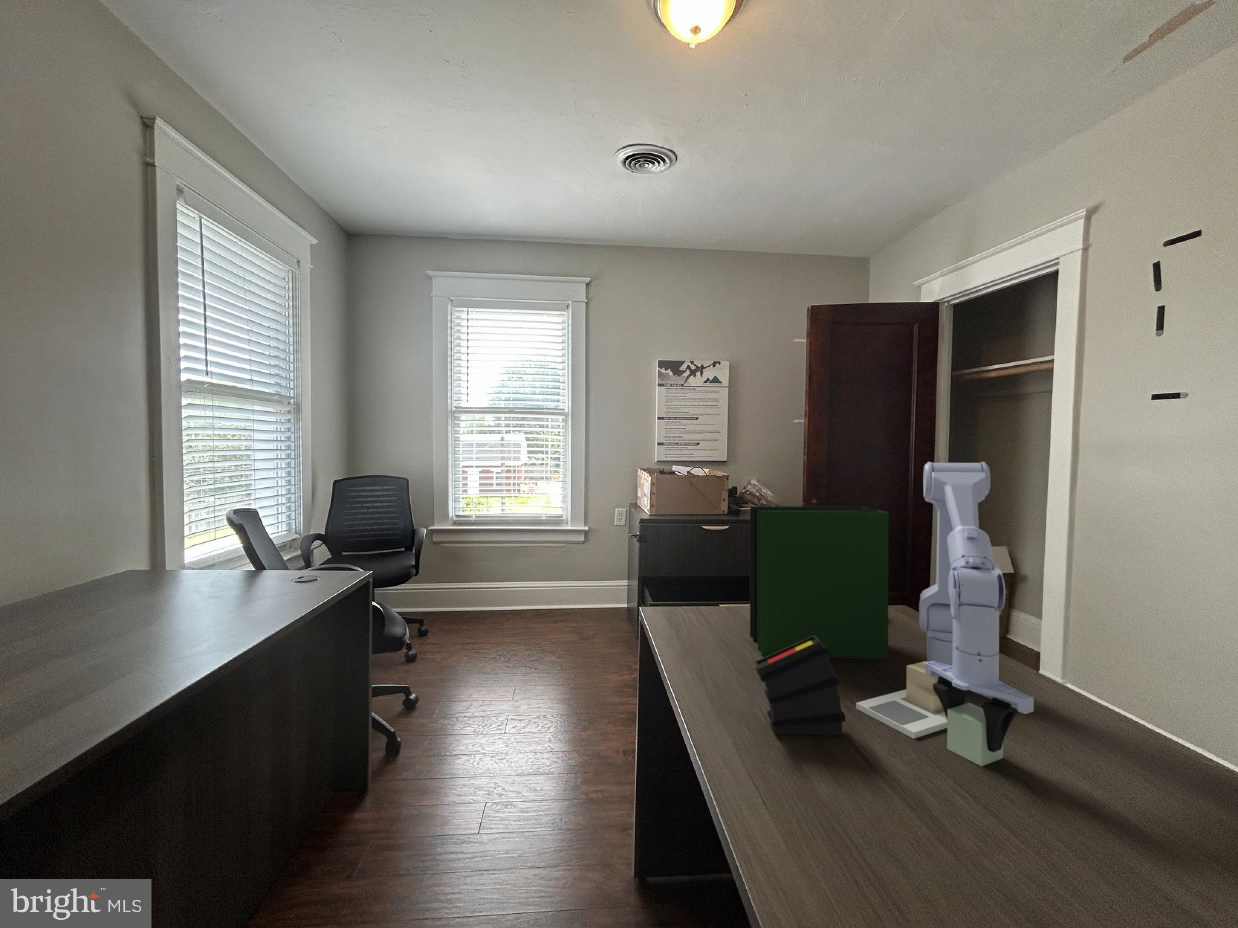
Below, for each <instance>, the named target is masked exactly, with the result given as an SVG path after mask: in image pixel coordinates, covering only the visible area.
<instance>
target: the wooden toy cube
mask: <svg viewBox="0 0 1238 928" xmlns="http://www.w3.org/2000/svg"><path fill="white" fill-rule="evenodd" d="M926 662H927V660H923V661H921V662H920V661H919V662H916V663H913V664H908V665H906V689H907V694H906V699H907V700H909V701H911V702H913V703H915V704H917V705H920V706H922V707H924V708H926V709H928V710H931V711H933V712H934V711H938V710H941V709H943V707H942V704H941V702H940V700H939V698H938V696H937V695H936V693H935V691H934V690H933V684H934V683H937V681H938V678H937V677H935V676H933V677H930V676H927V675H925V663H926Z"/></svg>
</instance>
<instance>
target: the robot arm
mask: <svg viewBox="0 0 1238 928" xmlns="http://www.w3.org/2000/svg"><path fill="white" fill-rule="evenodd" d="M922 476H923V477H922V478H923V479H922V480H923V498H924V501H925V502H927V503H931V504H933V505H934V507H935V508H936V509H935V510H936V512H937V519H936V521H937V522H936V523H937V524H936V525H937V526H936V527H937V528H936V529H937V530H936V531H937V532H936V579H935V580H936V582H935V584H933V585H931V586H929V587H928V588H925V589H924V590H922V591H921V593H920V594H919V604H918V622H919V623H918V625H919V628H920V630H922V632H923V633H926V663H925V675H927V676H930V677H933V676H935V677H937V678H938V681H937V683H934V684H933V690H934V691H935V693H936V695H937V696H938V698H939V700H940V702H941V704H942V707H943V709H944V712H945V715H946V718H947V709H950V708H953V707H957V706H960V705H963V704H966V697H967V692H968V691H971V692H973V693H975V694H978V695H981V696H983V697H985V698H989V699H990V700H991V701H987V702H984V703H981V708H982V709H983V712H984V715H985V720H986V726H987V747H988V750H989V751H991V752H996V751H998V750H1001V748H1002V744H1003V745H1004V741H1005V737H1006V734H1007V732H1008V731H1009V730H1008V729H1009V728H1010V726H1011V724H1012V722H1013V721H1014V719H1015V718H1016V717H1017V715H1018V714H1019V713H1021V714H1024V715H1027V714H1030V713H1032V712H1034V711H1035V710H1034V707H1035V706H1034V705H1035V704H1034V703H1035V702H1034V700H1035V698H1034V697H1032V696H1030V695H1028V694H1026V693H1024V692H1022V691H1019V690H1018V689H1016V688H1014V687H1012V686H1010V685H1008V684H1006V683H1005V682H1002V681H1001V680H999V678H1000V677H999V673H1000V669H999V665H1000V664H999V663H1000V661H999V660H1000V657H999V656H1000V610H1001V611H1002V610H1003V609H1004V607H1005V600H1006V585H1005V579H1004V575H1003V572H1002V571H1001V569H1000V566H999V564H998V563H995V561H994V556H993V550H992V545H991V544H992V543H991V540H990V537H989V535H988V533H987V532H985V531H984V530H983V529H980V525H979V521H980V520H979V505H978V504H979V503H981V502H982V501H984V500H985V498H986V496H987V495H988V494H989V492H990V490H991V471H990V467H989V465H988V464H987V463H986V462H985V461H980V462H931V461H927V463H925V464H924V466H923V475H922Z"/></svg>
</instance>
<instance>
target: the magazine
mask: <svg viewBox="0 0 1238 928" xmlns="http://www.w3.org/2000/svg"><path fill="white" fill-rule="evenodd" d="M826 653H828V650H827V648H826V647H825V646H824V645H823V644H822V643H821V642H820V640H819V639H818V638H817V637H816V636H815V635H813V636H810V637H808V638H806V639H804V640H802V641H799V642H797V643H795V644H793V645H791V646H788V647H786V648H784V649H782V650H780V651H777V652H775V653H773V654H771V655H768V656H764V657H762V658H760V659H758V660H756V661H754V664H755V666H756V667H755V670H756V673H757V675H758V677H759V679H760V681H761V683H762V682H764V685H765V690H764V695H765V697H766V699H767V701H768V704H769V710H767V713H766V714H767V717H768V719H769V722H770V723H769V725H770V727H771V729H772V731H773V733H774V734H775V735H796V736H797V735H798V736H799V735H800V736H835V737H836V736H837V737H838V736H839V737H841V736H843V722H846V714H845V713H844V711H843V710H842V704H841V697H840V692H839V687H838V685H840V679H839V677H838V676H837V675H836V674H835V672H834V669H833V666H832V663H831V661H830V657H828V656H827V654H826Z"/></svg>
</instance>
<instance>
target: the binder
mask: <svg viewBox="0 0 1238 928" xmlns="http://www.w3.org/2000/svg"><path fill="white" fill-rule="evenodd" d="M889 519H890V518H889V512H888V511H883V510H879V509H872V508H870V507H867V506H851V505H849V506H848V505H846V506H845V505H844V506H838V505H837V506H828V505H827V506H826V505H824V506H821V505H819V506H813V505H812V506H811V505H810V506H806V505H805V506H800V505H799V506H792V505H791V506H790V505H789V506H788V505H787V506H783V505H782V506H778V505H777V506H775V505H774V506H765V505H764V506H762V505H761V506H759V505H758V506H751V505H750V506H749V525H750V526H749V530H750V531H749V637H750V638H752V642H754V643H755V642H756V643H757V651H760V656H761V657H763V656H764V657H766V656H768V655H771V654H773V653H775V652H777V651H780V650H782V649H784V648H786V647H788V646H791V645H793V644H795V643H797V642H799V641H802V640H804V639H806V638H808V637H810V636H813V635H815V636H816V637H817V638H818V639H819V640H820V642H821V643H822V644H823V645H824V646H825V647H826V648H827V650H828V653H826V654H827V656H828V658H836V659H837V658H840V659H841V658H845V659H883V660H885V659H886V660H887V659H889V528H890V526H889V523H890V522H889Z"/></svg>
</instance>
